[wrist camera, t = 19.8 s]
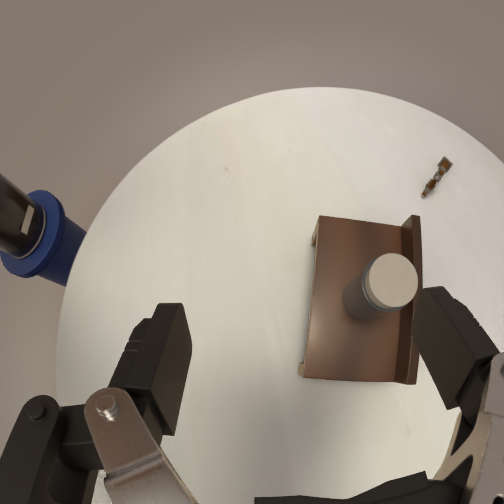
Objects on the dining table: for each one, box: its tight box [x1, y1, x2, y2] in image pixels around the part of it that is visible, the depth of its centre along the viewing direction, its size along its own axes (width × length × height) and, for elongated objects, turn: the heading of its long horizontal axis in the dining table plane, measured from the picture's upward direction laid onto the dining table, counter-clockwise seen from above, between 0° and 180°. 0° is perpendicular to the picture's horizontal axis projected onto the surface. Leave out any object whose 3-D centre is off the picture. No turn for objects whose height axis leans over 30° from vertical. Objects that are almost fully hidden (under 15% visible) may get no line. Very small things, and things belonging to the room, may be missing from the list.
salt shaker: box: [342, 253, 418, 321], centre depth 24 cm, size 4×4×8 cm
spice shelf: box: [298, 215, 423, 385], centre depth 30 cm, size 10×16×9 cm, turn 172°
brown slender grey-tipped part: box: [422, 156, 453, 196], centre depth 37 cm, size 2×8×4 cm, turn 135°
